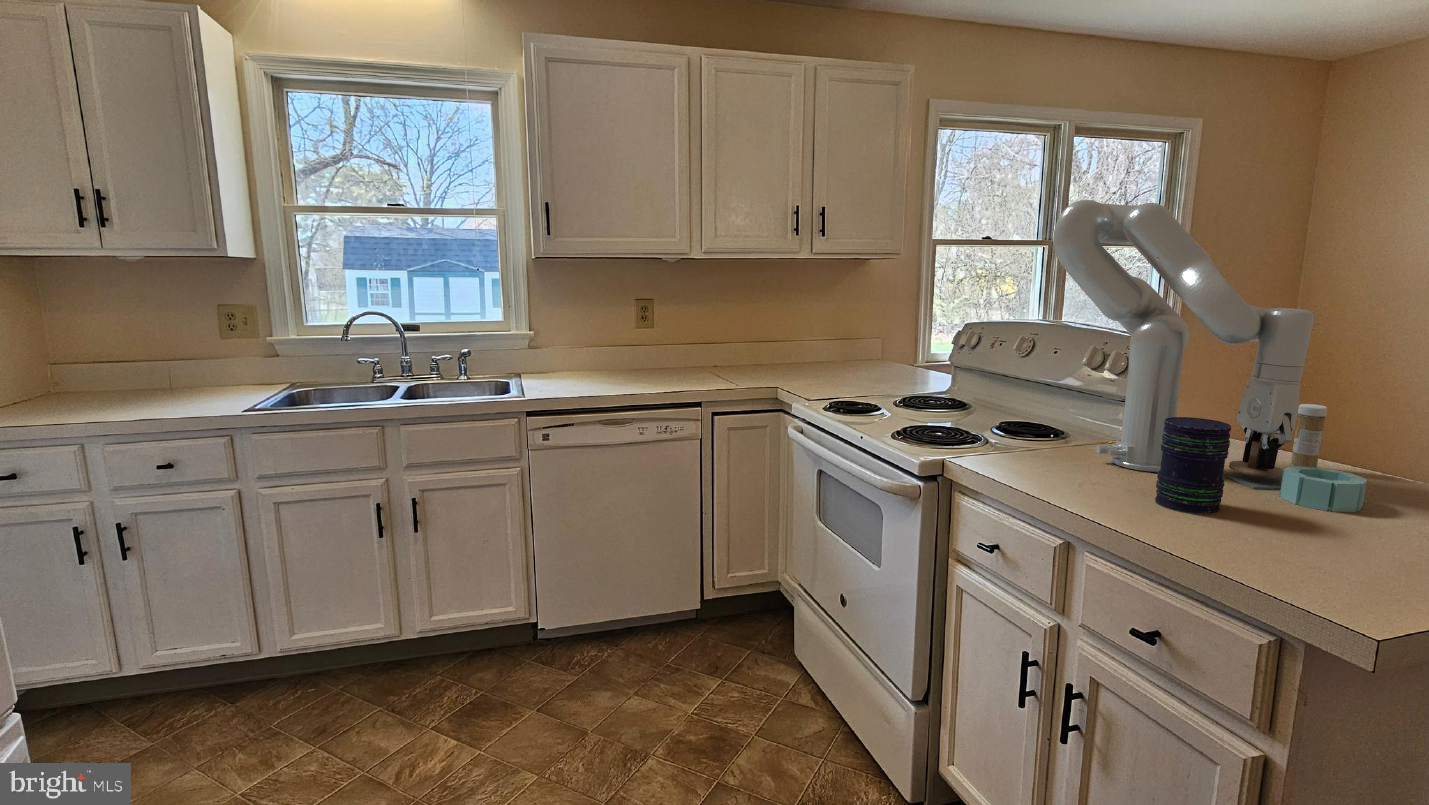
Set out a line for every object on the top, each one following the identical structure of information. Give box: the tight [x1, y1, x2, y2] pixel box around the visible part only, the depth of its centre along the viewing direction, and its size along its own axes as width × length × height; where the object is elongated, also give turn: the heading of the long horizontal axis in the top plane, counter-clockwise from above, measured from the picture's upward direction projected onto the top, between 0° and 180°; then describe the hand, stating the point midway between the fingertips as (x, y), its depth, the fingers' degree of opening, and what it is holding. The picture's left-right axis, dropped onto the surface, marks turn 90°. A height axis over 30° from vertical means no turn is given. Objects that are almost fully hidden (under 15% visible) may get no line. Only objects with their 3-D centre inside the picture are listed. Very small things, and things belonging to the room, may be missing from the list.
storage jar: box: [1154, 416, 1232, 515], centre depth 125 cm, size 10×10×15 cm
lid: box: [1228, 441, 1284, 479], centre depth 140 cm, size 9×9×6 cm
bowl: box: [1279, 466, 1368, 513], centre depth 128 cm, size 11×11×5 cm
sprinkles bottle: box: [1289, 403, 1328, 468], centre depth 148 cm, size 5×5×13 cm
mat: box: [1223, 471, 1282, 491], centre depth 140 cm, size 10×10×1 cm
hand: (1258, 464), depth 140 cm, fingers closed on lid, 3 cm apart
